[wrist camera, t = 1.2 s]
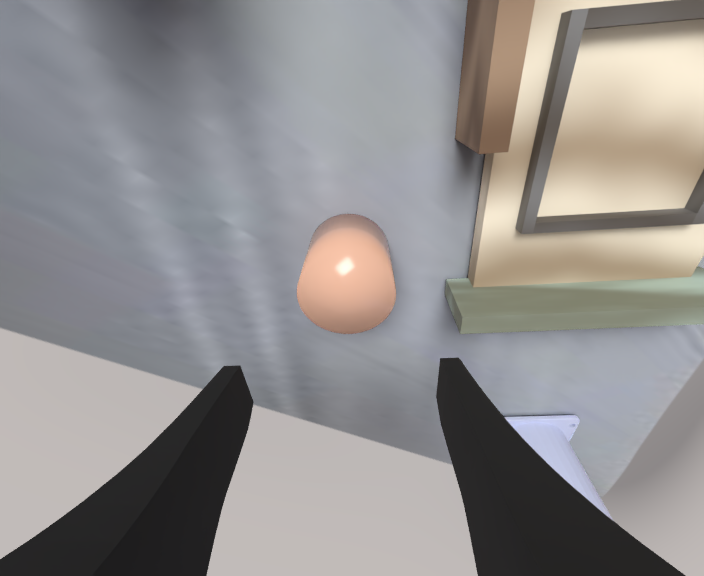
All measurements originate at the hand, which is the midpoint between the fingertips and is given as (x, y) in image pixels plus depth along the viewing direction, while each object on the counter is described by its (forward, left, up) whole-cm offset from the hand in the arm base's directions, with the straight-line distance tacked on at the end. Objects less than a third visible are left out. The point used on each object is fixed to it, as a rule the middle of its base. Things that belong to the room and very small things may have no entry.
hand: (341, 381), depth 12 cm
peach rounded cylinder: (0, 0, -10) cm, 10 cm away
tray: (+4, -14, -10) cm, 18 cm away
